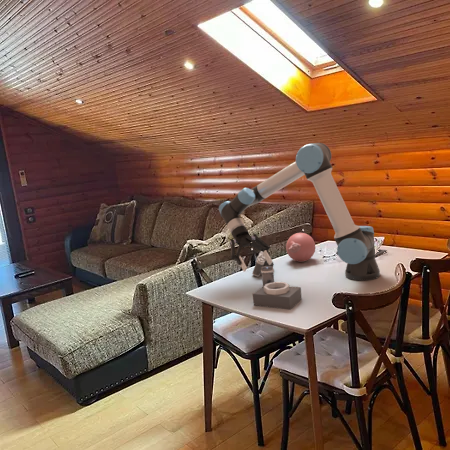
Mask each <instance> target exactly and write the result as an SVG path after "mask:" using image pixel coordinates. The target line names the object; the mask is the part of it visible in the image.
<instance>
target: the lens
mask: <svg viewBox="0 0 450 450" xmlns="http://www.w3.org/2000/svg"><path fill="white" fill-rule="evenodd" d="M274 273H275V271H274V265H273V266H264V267H261V273H260V274H261V282H262V287H263V286H264V285H265V284H268V283H273V282H275V277H274V276H275V274H274Z"/></svg>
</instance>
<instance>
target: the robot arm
mask: <svg viewBox="0 0 450 450" xmlns="http://www.w3.org/2000/svg"><path fill="white" fill-rule="evenodd" d="M331 160H332V152H331V149H330V148H329V146H328V145H326V143H323V142H315V143H314V142H313V143H308V144H305V145H304V146H301V147H300V148H299V150H298V151H297V153H296V156H295V161H294V162H292V163H290V164H289V165H287V166H286V167H284V168H282V170H279V171H278V172H276V173H275V174H272V175H271V176H269V177H268V178H267V179H265V180H263V181H262V182H260V183H258V184H257V185H256V186H254V187H252V188H249V187H244V188H242V189H241V190H240V191H239V192H238V194H236V196H235V197H234V198H233V199H232V200H231V201H229V200H227V201H224V202H223V203H221V204H219V206H218V211H219V213H220V217H221V218H222V219H223V221H224V222H225V225H226V227H227V229H228V230H229V232H230V234H231V236H232V238H231V239H230V241H229V245H230V260H232V261H233V260H234V261H235V262H236V263H237V264H238V266H240V268H241V269H242V271H243V272H246V271H247V269H248V267H247V265H246V263H245V261H244V260H243V258H242V256H241V255H240V254H241V249H242V248H246V247H253V248H255V249H257V250H259V251H260V252H261V251H262V252H263V255H264V257H265V259H266V260H267V262H268V264H269V265H271V263H272V262H273V260H272V258H271V253H270V252H269V250H270V248H271V246H270V245H269V244H267V243H266V242H265V241H264V240H262V239H261V238H260V237H258V235H257V234H256V233H253V235H250V234H249V233H250V232H249V230H248V228H247V227H246V226H245V223H244V221H243V219H242V218H241V216H240V215H241V214H242V213H243V212H244V211H245V210H246V209H247V208H249V207H251V206H255V205H257V204H259V203H261V202H262V201H263V200H265V199H267V198H268V197H270V196H271V195H273V194H275V193H276V192H279V191H280V190H282V189H283V188H285V187H287V186H288V185H290V184H291V183H293V182H295V181H297V180H298V179H300V178H301V177H304V176H305V178H306V180H307V181H310V182H311V183H312V184H313V187H314V188H315V191H316V194H317V195H318V198H319V200H320V202H321V204H322V206H323V208H324V211H325V213H326V215H327V217H328V219H329V221H330V225H332V226H331V227H332V228H333V230H334V233H335V234H334V236H333V238H334V241H335V243H336V245H337V248H336V249H337V250H336V253H338V255H337V256H338V257H339V258H340V260H341V262H343V263H345V264H346V267H345V271H344V275H345V276H344V277H346V278H347V279H350V280H353V281H371V280H376V279H378V278H380V276H381V273H380V268H379V266H378V265H379V264H378V263H377V260H376V257H375V249H376V248H375V232H374V231H375V230H374V227H373V226H369V225H357V224H355V222H354V220H353V218H352V215H351V214H350V212H349V209H348V207H347V205H346V202H345V200H344V199H343V196H342V194H341V192H340V190H339V187H338V186H337V183H336V181H335V179H334V177H333V175H332V172H333V166H332V163H331ZM236 244H237V245H238V246H237V250H236V246H235V245H236ZM235 251H236V252H235ZM273 263H274V262H273Z"/></svg>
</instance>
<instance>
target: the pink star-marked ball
mask: <svg viewBox="0 0 450 450" xmlns="http://www.w3.org/2000/svg"><path fill="white" fill-rule="evenodd" d="M285 249H286V253H287V255H288V257H289V258H291V259H292V260H293V261H295V262H299V263H300V262H301V263H302V262H307V261H308V260H311V258H312V257H313V256H314V254H315V253H316V243H315V241H314V238H313V237H312V236H311V235H309V234H307V233H305V232H297V233H294V234H291V236H290V237H288V239H287V242H286V244H285Z"/></svg>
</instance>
